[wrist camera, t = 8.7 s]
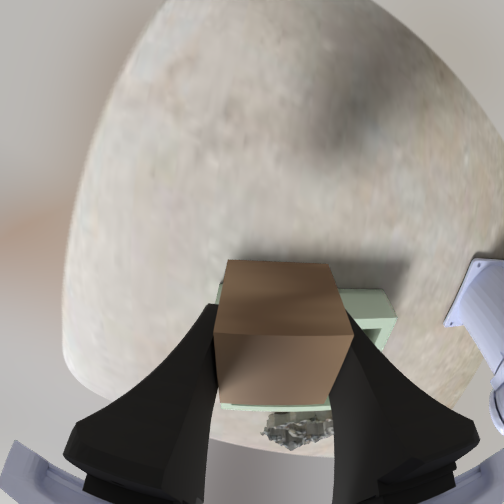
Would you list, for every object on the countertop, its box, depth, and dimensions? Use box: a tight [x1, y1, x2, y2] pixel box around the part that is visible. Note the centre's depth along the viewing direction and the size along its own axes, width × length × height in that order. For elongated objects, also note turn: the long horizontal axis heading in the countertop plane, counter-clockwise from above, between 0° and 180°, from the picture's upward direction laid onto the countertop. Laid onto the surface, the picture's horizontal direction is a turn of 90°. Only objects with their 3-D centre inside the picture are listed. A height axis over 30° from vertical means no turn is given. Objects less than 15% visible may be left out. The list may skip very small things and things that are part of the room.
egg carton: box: [261, 410, 334, 451], centre depth 29 cm, size 11×8×4 cm
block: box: [213, 260, 354, 405], centre depth 10 cm, size 4×4×4 cm
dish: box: [215, 284, 398, 412], centre depth 22 cm, size 13×13×4 cm
